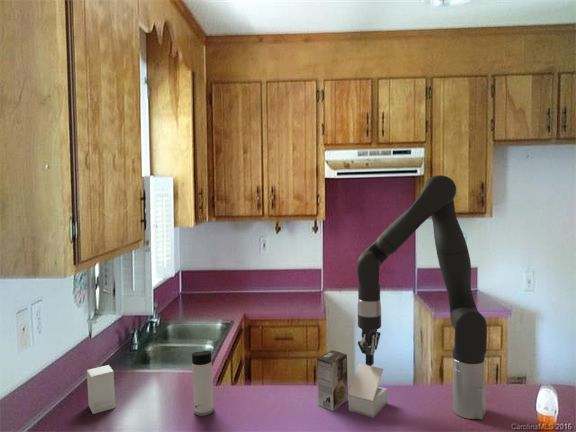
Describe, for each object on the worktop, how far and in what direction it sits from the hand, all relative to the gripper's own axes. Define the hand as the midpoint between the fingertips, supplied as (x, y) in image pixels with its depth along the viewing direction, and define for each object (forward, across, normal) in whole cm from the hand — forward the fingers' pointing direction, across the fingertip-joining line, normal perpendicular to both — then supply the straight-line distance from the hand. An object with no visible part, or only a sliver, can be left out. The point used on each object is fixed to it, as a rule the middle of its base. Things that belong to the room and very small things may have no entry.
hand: (369, 364), depth 145 cm
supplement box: (+14, -48, +76) cm, 91 cm away
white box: (+13, -2, 0) cm, 14 cm away
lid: (+5, -3, 0) cm, 6 cm away
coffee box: (+14, -5, +11) cm, 18 cm away
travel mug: (+14, -32, +44) cm, 56 cm away
